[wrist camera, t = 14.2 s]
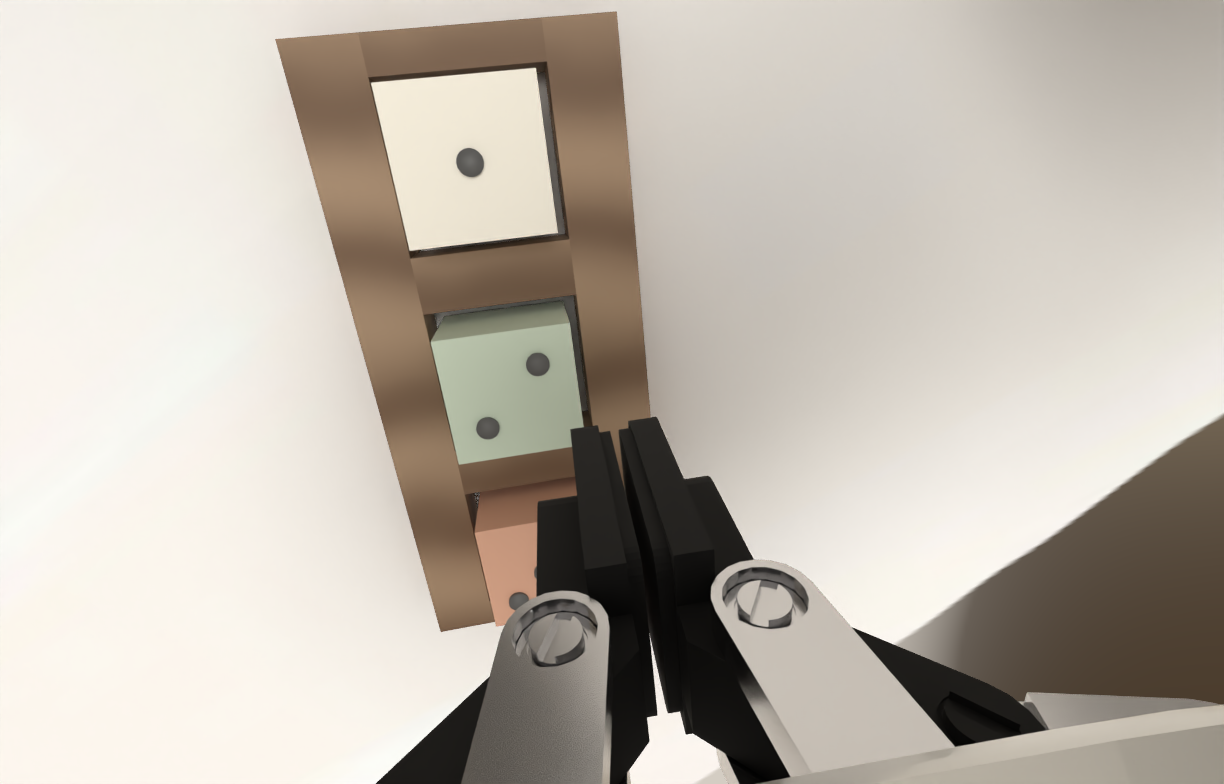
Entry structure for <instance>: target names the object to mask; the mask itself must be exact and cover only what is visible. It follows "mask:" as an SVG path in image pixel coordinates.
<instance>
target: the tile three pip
mask: <svg viewBox="0 0 1224 784" xmlns="http://www.w3.org/2000/svg"><path fill="white" fill-rule="evenodd" d="M570 496H577V491H576V481H575V476H574V477H568V478H562V479H556V480H549V481H543V482H537V483H531V484H525V485H519V486H513V487H507V488H501V489H495V490H489V491H483V492H480V496H479V503H478V511H477V518H476V526H475V537H476V541H477V545H478V550H479V554H480V558H481V563H482V567H483V571H484V576H485V580H486V584H487V589H488V593H489V597H490V602H491V606H492V610H493V615H494V619H495V623H496V626H502V625H505V624H506V622H507V620H508V619H509V617H510V616H511V615H512V614H513V613H514V612H515V611H516V610H517V608H519V607H520V606H522V605H523V604H525V603H526V602H527V601H529V600H530V599H533V598H535V597H536V582H537V505H538V501H543V500H550V499H557V498H563V497H570Z"/></svg>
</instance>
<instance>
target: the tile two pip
mask: <svg viewBox="0 0 1224 784" xmlns="http://www.w3.org/2000/svg"><path fill="white" fill-rule="evenodd" d="M431 346H432V350H433V354H434V359H435V363H436V367H437V372H438V376H439V381H440V385H441V389H442V394H443V398H444V402H445V407H446V411H447V415H448V420H449V424H450V428H451V433H452V437H453V441H454V446H455V450H456V454H457V459H458V463H459V465H460V464H467V463H473V462H479V461H486V460H492V459H498V458H504V457H511V456H517V455H523V454H530V453H536V452H542V451H548V450H555V449H561V448H567V447H572V442H571V433H570V429H574V428H581V427H584V426H583V418H582V411H581V403H580V396H579V388H578V381H577V373H576V366H575V358H574V351H573V343H572V336H571V328H570V322H569V319H568V316H567V313H566V310H565V307H564V303H563V301H555V302H548V303H540V304H533V305H525V306H517V307H510V308H502V309H495V310H487V311H480V312H472V313H465V314H457V315H450V316H444V318H443V320H442V322H441V324H440V326H439V327H438V329H437V331H436V333H435V335H434V337H433V338H432V340H431Z"/></svg>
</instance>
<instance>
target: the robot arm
mask: <svg viewBox="0 0 1224 784" xmlns="http://www.w3.org/2000/svg"><path fill="white" fill-rule="evenodd" d="M570 433H571V442H572V452H573V462H574V471H575V481H576V491H577V496H570V497H563V498H557V499H550V500H543V501H538V505H537V582H536V597H535V598H533V599H530V600H529V601H527V602H526V603H525V604H523V605H522V606H520V607H519V608H517V610H516V611H515V612H514V613H513V614H512V615H511V616H510V617H509V619H508V620H507V622H506V624H505V626H504V628H503V631H502V633H501V636H500V640H499V644H498V647H497V651H496V655H495V659H494V662H493V666H492V670H491V674H490V677H489V678H488V679H486V680H485V681H484V682H483V683H482V684H481V685H480V686H479V687H478V688H477V689H476V690H475V691H474V692H473V693H472V694H471V695H469V696H468V697H467V698H466V699H465V700H464V701H463V702H462V703H461V704H460V705H459V706H458V707H457V708H456V709H455V710H454V711H452V712H451V713H450V714H449V715H448V716H447V717H446V718H445V719H444V720H443V721H442V722H441V723H440V724H439V725H438V726H437V727H435V728H434V729H433V730H432V731H431V732H430V733H429V734H428V735H427V736H426V737H425V738H424V739H423V740H422V741H421V742H419V743H418V744H417V745H416V746H415V747H414V748H413V749H412V750H411V751H410V752H409V753H408V754H407V755H406V756H405V757H404V758H402V759H401V760H400V761H399V762H398V763H397V764H396V765H395V766H394V767H393V768H392V769H391V770H390V771H389V772H388V773H387V774H385V775H384V776H383V777H382V778H381V779H380V780H379V781H378V782H377V783H376V784H631V781H630V774H629V769H630V768H631V767H632V765H633V764H634V762H635V761H636V759H637V758H638V757H639V755H640V754H641V752H642V751H643V750H644V748H645V747H646V745H647V744H648V743H649V733H648V724H647V717H651V716H657V705H656V695H655V685H654V675H653V665H652V655H651V645H650V637H651V642H652V646H653V651H654V655H655V660H656V664H657V669H658V673H659V677H660V682H661V686H662V691H663V695H664V700H665V704H666V708H667V712H668V713H674V712H679V711H680V713H681V717H682V721H683V725H684V729H685V733H686V734H692V733H693V734H695V735H696V736H698V737H699V738H701V739H703V740H704V741H706V742H707V743H709V744H711V745H712V746H714V747H715V748H717V756H718V760H719V764H720V767H721V770H722V772H723V774H724V776H725V778H726V781H727V783H728V784H1224V705H1218V704H1215V703H1210V702H1204V701H1198V700H1192V699H1176V698H1151V697H1127V696H1101V695H1078V694H1077V695H1075V694H1052V693H1027V695H1026V698H1025V702H1018V701H1016V700H1015V699H1014V698H1013V697H1011V696H1010V695H1008V694H1007V693H1005V692H1003V691H1001V690H999V689H997V688H995V687H993V686H991V685H989V684H987V683H985V682H982V681H980V680H978V679H975V678H973V677H970V676H968V675H966V674H963V673H961V672H958V671H956V670H953V669H951V668H949V667H946V666H944V665H941V664H939V663H937V662H934V661H932V660H930V659H927V658H925V657H922V656H920V655H917V654H915V653H913V652H910V651H908V650H905V649H903V648H900V647H898V646H896V645H893V644H891V643H889V642H886V641H884V640H881V639H879V638H876V637H874V636H872V635H869V634H867V633H864V632H862V631H860V630H857V629H855V628H852V627H851V626H850V625H849V624H848V623H847V621H846V620H845V619H844V618H843V617H842V616H841V615H840V613H839V612H838V611H837V610H836V609H835V608H834V606H833V605H832V604H831V603H830V602H829V601H828V600H827V598H826V597H825V596H824V595H823V594H822V593H821V592H820V590H819V589H818V588H817V587H816V586H815V585H814V583H813V582H812V581H811V580H809V579H808V578H807V577H806V576H805V575H804V574H803V573H801V572H800V571H798V570H796V569H794V568H792V567H790V566H788V565H786V564H782V563H778V562H775V561H771V560H754V559H753V557H752V555H751V554H750V552H749V550H748V548H747V546H746V544H745V542H744V540H743V538H742V536H741V534H740V532H739V530H738V529H737V527H736V525H735V523H734V521H733V519H732V517H731V515H730V513H729V511H728V509H727V507H726V505H725V504H724V502H723V500H722V498H721V496H720V494H719V492H718V490H717V488H716V486H715V484H714V482H713V481H712V479H711V478H710V477H709V476H703V477H696V478H690V479H684V478H683V476H682V474H681V472H680V469H679V467H678V465H677V462H676V460H675V458H674V455H673V453H672V451H671V449H670V446H669V444H668V442H667V439H666V437H665V435H664V432H663V430H662V428H661V426H660V423H659V421H658V419H657V417H652V418H645V419H637V420H630V421H628V428H626V429H619V442H620V451H621V461H622V470H623V479H624V485H623V481H622V477H621V473H620V469H619V465H618V461H617V457H616V453H615V449H614V445H613V441H612V437H611V433H610V431H605V432H599V428H598V425H595V426H588V427H581V428H574V429H570ZM624 488H625V490H624ZM649 633H650V635H649Z"/></svg>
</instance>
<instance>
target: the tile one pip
mask: <svg viewBox="0 0 1224 784" xmlns="http://www.w3.org/2000/svg"><path fill="white" fill-rule="evenodd" d="M371 85H372V89H373V94H374V98H375V102H376V107H377V111H378V115H379V120H380V124H381V128H382V133H383V137H384V141H385V146H386V150H387V154H388V159H389V163H390V168H391V172H392V176H393V181H394V185H395V189H396V194H397V198H398V202H399V207H400V211H401V215H402V220H403V224H404V228H405V233H406V237H407V241H408V246H409V250H410V251H412V250H420V249H429V248H437V247H445V246H453V245H462V244H470V243H478V242H487V241H495V240H503V239H512V238H520V237H528V236H537V235H545V234H553V233H558V230H557V223H556V215H555V208H554V200H553V193H552V185H551V178H550V170H549V163H548V155H547V147H546V140H545V132H544V125H543V117H542V110H541V102H540V95H539V87H538V80H537V72H536V68H528V69H517V70H506V71H495V72H484V73H473V74H462V75H451V76H440V77H429V78H418V79H407V80H395V81H384V82H373V83H371Z"/></svg>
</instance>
